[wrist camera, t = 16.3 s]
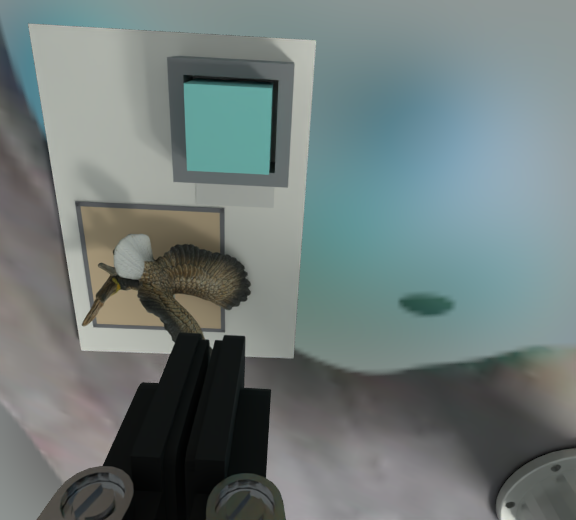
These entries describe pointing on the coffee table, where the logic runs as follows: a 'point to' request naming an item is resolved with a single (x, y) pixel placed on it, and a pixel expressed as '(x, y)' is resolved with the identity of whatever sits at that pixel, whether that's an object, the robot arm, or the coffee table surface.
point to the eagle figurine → (172, 281)
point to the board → (172, 175)
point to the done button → (228, 125)
